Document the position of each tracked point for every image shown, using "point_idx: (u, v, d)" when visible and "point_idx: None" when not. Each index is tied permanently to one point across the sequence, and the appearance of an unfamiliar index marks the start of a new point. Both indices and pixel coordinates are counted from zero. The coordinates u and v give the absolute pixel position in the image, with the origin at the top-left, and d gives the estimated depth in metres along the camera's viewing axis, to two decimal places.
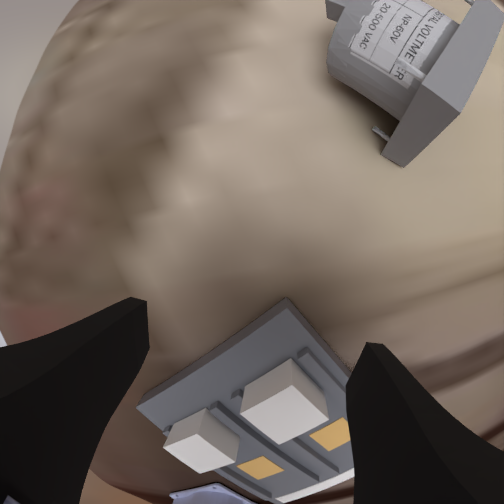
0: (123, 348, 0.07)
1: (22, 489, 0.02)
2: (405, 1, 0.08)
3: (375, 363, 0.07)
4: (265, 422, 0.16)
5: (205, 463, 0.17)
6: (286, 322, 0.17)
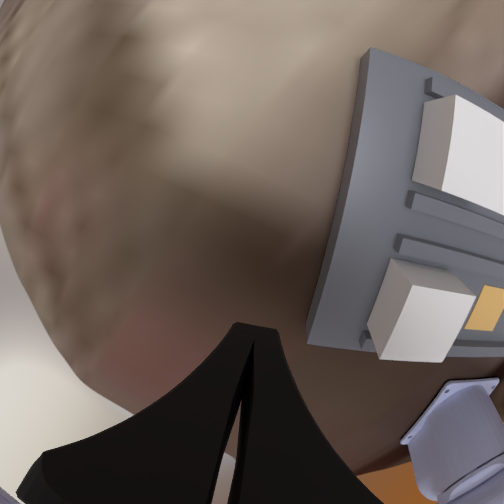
0: (243, 380, 0.07)
1: None
2: None
3: (252, 347, 0.07)
4: (473, 182, 0.09)
5: (443, 335, 0.11)
6: (384, 63, 0.10)
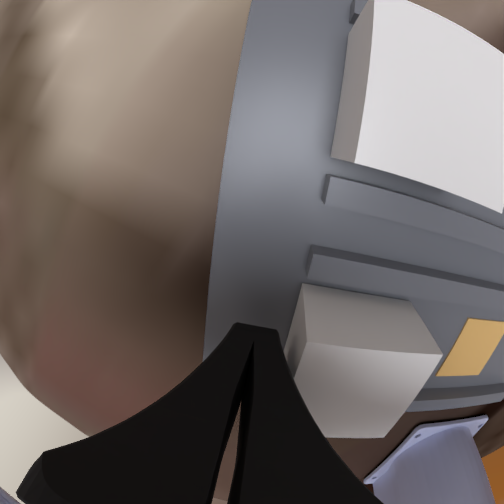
0: (243, 380, 0.07)
1: None
2: None
3: (252, 347, 0.07)
4: (434, 146, 0.04)
5: (381, 408, 0.07)
6: None
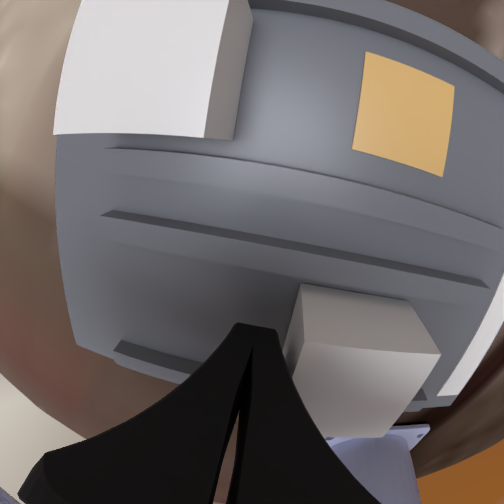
0: (245, 380, 0.07)
1: None
2: None
3: None
4: (104, 98, 0.05)
5: (380, 408, 0.07)
6: None
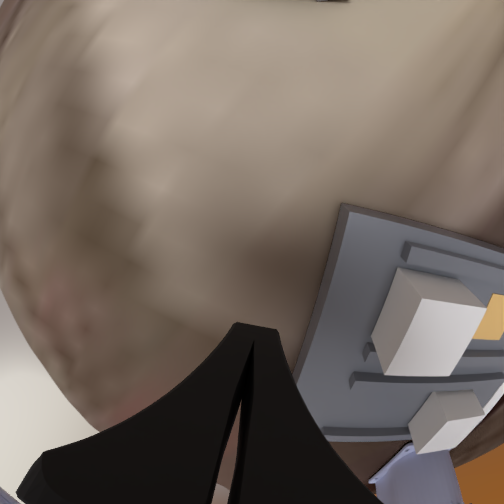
0: (243, 380, 0.07)
1: None
2: None
3: (252, 347, 0.07)
4: (420, 363, 0.10)
5: (459, 436, 0.13)
6: (362, 229, 0.12)
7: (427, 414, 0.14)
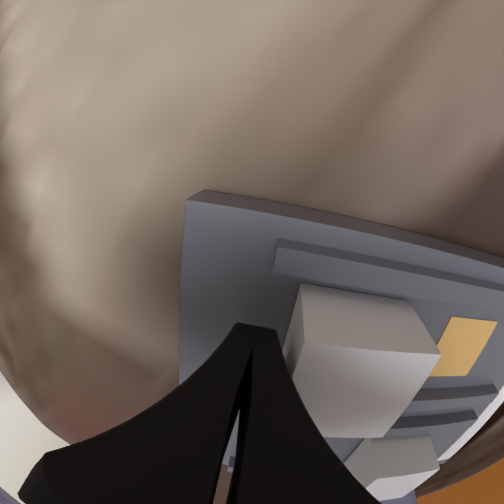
0: (245, 380, 0.07)
1: None
2: None
3: None
4: (326, 424, 0.07)
5: (404, 489, 0.10)
6: (207, 223, 0.09)
7: (359, 461, 0.11)
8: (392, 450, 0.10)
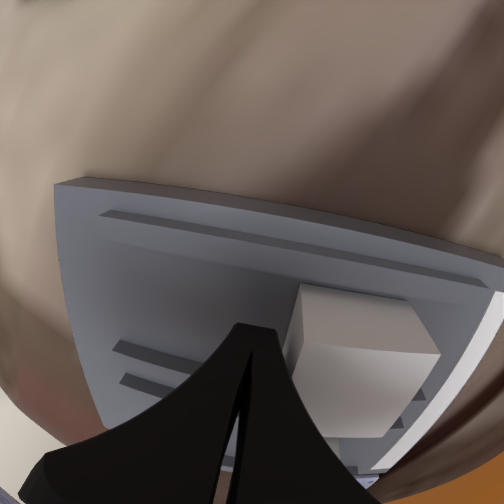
0: (245, 380, 0.07)
1: None
2: None
3: None
4: (326, 424, 0.07)
5: None
6: (66, 201, 0.09)
7: None
8: None
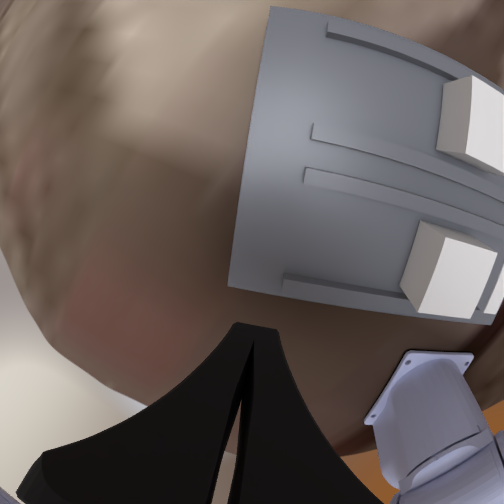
0: (243, 380, 0.07)
1: None
2: None
3: (252, 347, 0.07)
4: (490, 149, 0.09)
5: (471, 290, 0.11)
6: (283, 16, 0.11)
7: (419, 253, 0.13)
8: (447, 231, 0.12)
